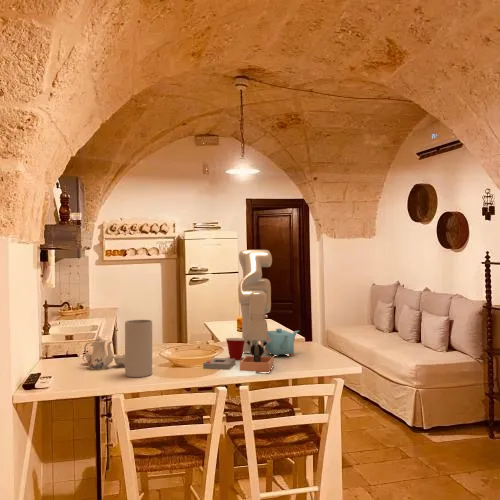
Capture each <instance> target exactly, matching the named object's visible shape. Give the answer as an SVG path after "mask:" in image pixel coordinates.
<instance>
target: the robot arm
mask: <svg viewBox="0 0 500 500" xmlns="http://www.w3.org/2000/svg"><path fill="white" fill-rule="evenodd" d="M238 259H239V264H240V266H241V269H242V279H241V280H240V282H239V284H238V286H237V287H238V289H237V293H238V295H237V297H238V303H239V304H240V311H241V319H242V320H241V324H242V325H241V328H242V329H241V331H242V333H241V334H242V335H241V336H242V337H241V338H244V340H243V341H245V343H244V347H243V352H244V353H243V354H245V353H252V354H251V356H254V347H253V345H254V344H256V343H259V342H260V343H259V344H260V345H261V347H260V355H261V357H263V355H264V354H265V352H264V351H265V345H266V344H267V343H269V342H270V341H271V339H270V338H269V336H268V331H269V330H268V322H267V320H266V319H268V318H269V317H268V315H267V314H268V313H271V308H272V299H271V298H272V297H271V296H272V287H271V282H270V280H269V279H268V278H263V271H262V268H270V267H271V266H272V263H273V257H272V253H271V252H270V250H268V249H243V250H240V251H239V253H238ZM266 339H267V341H265V340H266ZM264 341H265V342H264Z"/></svg>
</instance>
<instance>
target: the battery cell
mask: <svg viewBox="0 0 500 500" xmlns="http://www.w3.org/2000/svg"><path fill="white" fill-rule="evenodd" d="M253 347H254V355H253V356H254V362H261V357H262V356H261V355H260V347H261V343H256V344H254V345H253Z"/></svg>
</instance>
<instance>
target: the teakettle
mask: <svg viewBox="0 0 500 500" xmlns="http://www.w3.org/2000/svg"><path fill="white" fill-rule="evenodd" d="M299 332H300V330H295V331H293V332H290V331H288V330H285V329H283V328H276V329H275V330H268V336H269V338H270V339H271V341H270V342H269V343H267V344H266V345H265V346H264V351H266V352H268V353H269V352H270V353H271V354H273V355H278V356H279V355H284V354H289V355H291V354H294V353H295V347H294V346H295V344H294V343H295V339H296V335H297V334H298V333H299ZM265 341H267V339H266V340H265ZM265 341H264V342H265ZM273 355H272V356H273Z"/></svg>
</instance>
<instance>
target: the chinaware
mask: <svg viewBox="0 0 500 500" xmlns="http://www.w3.org/2000/svg"><path fill="white" fill-rule="evenodd" d="M89 344H90V346H91V347H93V349H92V352H89V353H88V351H87V346H88V345H89ZM111 344H112V341H109V342H108V343H107V348H106V340H104V339H103V338H101V335H98V336H97V338H95V340H93V341H92V342H87V343H86V344H84V352H85V353H84V355H83V357H82V360H83V361H84V362H87V366H88V367H89V368H90V370H92V371H102V370H107V369H108V368H109V366H110V364H111V363H112V362H113V360H114V363H115V364H116V365H117V366H118V368H125V354H121V355H120V354H116V355H115V356H114V354H113V350H112V346H111ZM106 349H107V350H106ZM106 351H107V352H106ZM84 358H86V359H84Z"/></svg>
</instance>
